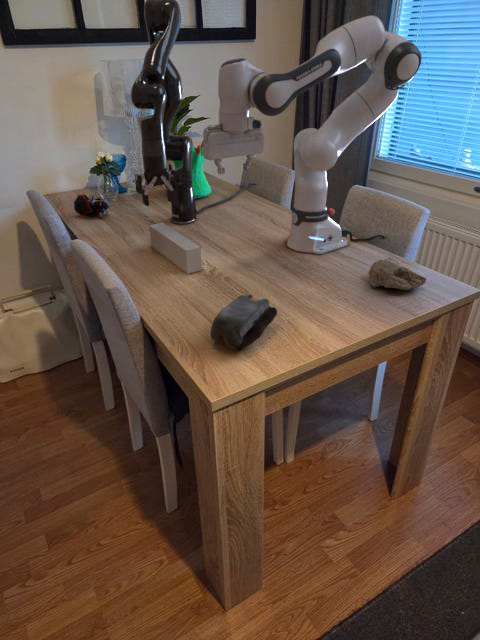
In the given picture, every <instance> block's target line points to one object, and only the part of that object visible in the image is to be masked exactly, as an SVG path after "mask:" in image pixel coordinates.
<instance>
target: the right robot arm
mask: <svg viewBox="0 0 480 640" xmlns="http://www.w3.org/2000/svg"><path fill="white" fill-rule="evenodd" d="M315 48H316V50H315V53H314V55H313V56H312V57H310V59H308V60H306V61H305V62H303V63H301V64H299V65H297V66H295V67H294V68H292V69H291V70H288V71H287V72H284V73H271V72H267V71H265V70H262V69H260V68H258V67H257V66H255V65H253V64H252V63H251V62H249V61H248V59H247V58H242V57H241V58H234V59H230V60H227V61H224V62H223V63H222V64H221V65H220V67H219V71H218V80H217V82H218V83H217V84H218V85H217V89H218V90H217V94H218V95H217V96H218V99H219V107H218V124H214V125H211V124H210V125H207V127H206V128H204V130H203V132H202V137H203V139H202V140H204V142H203V156H204V158H205V160H207V161H213V163H214V165H215V166H216V168H217V174H218V175H224V174H225V173H226V170H225V169H226V168H225V167H223V166H222V163H223V162H222V160H223V159H229V158H237V157H244V156H245V157H246V160H245V162H244V163H242V168H243V170H244V171H248V170H249V171H250V170H251V164H252V162H253V160H254V156H255V155H258V154H263V152H264V149H265V133H264V131H263V128H264V121H263V120H261V119H258V118H254V117H253V116H250V109H252V108H255V109H256V110H258V111H259V112H260V113H261V114H263V115H265V116H268V117H276V116H278V115H281V114H282V113H283V112H285V111H286V110H287V108H288V107H289V106H290V105H291V103H292V102H293V101H294V100H295V99H296V98H298V97H299V96H300V95H301V94H303V93H305V92H307V91H309V90H310V89H312V88H314V87H315V86H317V85H318V84H321V83H322V82H324V81H325V80H328V79H330V78H333V77H336V76H339V75H342V74H344V73H346V72H349V71H350V70H352V69H354V68H356V67H358V66H359V65H361V64H363V65H364V66H365V68H367V69H369V71H371V74H370V76H369V77H368V79H367V81H366V82H364V83H363V84H362V85H361V86H360V87H359V88H357V89H356V90H355V91H353V92H352V93H351V94H350V95H349V96H348V97H347V98H345V99H344V100H343V101H342V102H340V104H338V106H336V107H335V108H334V109H333V110H332V111H331V114H330V115H329V116H328V118H327V119H326V120H325V121H324V123H323V124H322V125H321V126H320V127H319V128H318V129H317V128H315V127H308V128H304V129H302V130H301V131H299V132H298V133H297V134H296V136H295V137H294V140H293V165H294V170H293V171H294V195H293V206H292V209H291V226H290V231H289V235H288V239H287V241H286V246H287V247H288V248H289V249H291V250H293V251H296V252H301V253H310V254H315V255H322V254H326V253H329V252H331V251H334V250H337V249H341V248H344V247H347V246H348V241H347V239H346V238H347V237H348V235H349V240H350V241H351V242H360V241H361V242H362V241H363V242H364V241H366V242H367V241H371V240H374V239H376V238H378V237H380V238H382V239H386V237H385V236H384V235H383V234H382V233H377V234H376V235H372V236H370V237H363V238H361V237H359V238H353V233H352V232H351V231H350V230H348V229H347V228H346V227H345V226H344V225H339V224H338V223H337V222H335V221H334V220H333V219H332V218H330V216H333V215H335V213H336V210H335V209H333V208H332V207H327V205H326V204H327V196H328V187H329V185H328V179H327V172H328V171H329V170H331V169H332V168H333V167H334V166H335V165H336V162H337V161H338V159H339V157H340V156H341V155H342V153H343V152H344V150H346V148H347V147H349V145H350V144H351V143H352V142H353V141H354V140H355V139H356V138H357V137H358V136H359V135H361V133H363V132H364V131H365V130H366V129H367V128H369V126H371V125H372V124H373V123H374V122H376V121H377V120H378V119H379V118H381V116H382V115H384V114H385V112H386V111H387V110H388V109H389V108H390V107H391V106H392V105H393V104H394V102H395V101H396V100H397V98H398V96H399V90H400V89H402V88H404V87H405V86H406V85H407V84H408V83H409V82H411V80H412V79H413V78H414V77H415V76H416V74H417V73H418V71H419V69H420V67H421V64H422V60H423V59H422V53H421V51H420V49H419V48H418V47H417V45H415V43H413V42H411V41H409V40H408V39H407V38H405V37H404V36H402V35H400V34H396V33H394V32H390V31H389V30H388V29H385V25H384V23H383V22H382V20H381V19H380V18H379V17H378V16H376V15H367V16H363V17H360V18H356V19H354V20H352V21H349V22H347V23H345V24H343V25H341V26H338V27H337V28H335V29H333V30H332V31H330V32H329V33H327V34H326V35H325V36H324V37H323V38H321V39H320V40H319V41H318V43H317V45H316V47H315ZM329 215H330V216H329Z"/></svg>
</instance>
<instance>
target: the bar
mask: <svg viewBox="0 0 480 640" xmlns="http://www.w3.org/2000/svg"><path fill="white" fill-rule="evenodd" d="M148 227H149V236H150V237H149V238H150V245H151V247H152V248H153V249H154V250H156V251H157V252H158V253H159V254H161V255H162V257H165V258H166V259H167V260H168V261H170V262H171V263H172V264H174V265H175V266H177V268H179V269H180V270H181V271H183V272H184V273H186V274H187V275H189V274H192V273H196V272H199V271H203V269H202V251H201V250H202V248H201V246H200V245H198V244H197V243H195V242H193V241H192V240H190V239H189V238H187V237H185V236H184V235H183V234H181V233H179V232H178V231H176V230H174V229H173V228H172V227H170V226H169V225H167V224H165V223H163V222H159V223H154V224H150V225H148Z"/></svg>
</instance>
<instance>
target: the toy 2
mask: <svg viewBox="0 0 480 640" xmlns="http://www.w3.org/2000/svg"><path fill="white" fill-rule="evenodd" d="M190 139H191V143H192V181H193V196H194V197H195V200H196V199H202V198H205V197H207V196H209V195H210V194H212V188H211V186H210V184H209V182H208V180H207V177H206V175H205V172H204V169H203V166H204V163H205V160H206V159H205V158H204V156H203V142H204V139H202V142H201V143H200V144H198V145H197V147H196V149H195V146H194V142H193V141H194V140H193V138H192V137H190ZM172 163H173V165H174V169H176V168H179V167H181V166H182V161H172Z"/></svg>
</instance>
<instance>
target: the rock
mask: <svg viewBox="0 0 480 640" xmlns="http://www.w3.org/2000/svg"><path fill="white" fill-rule="evenodd" d="M277 315H278V309H277V308H276V307H274V306H271V305H270V300H269V299H268V298H261V299H258V300H253V295H252V294H248V295H247V294H246V295H245V294H241V295H239V296H238V297H237V298H235V299H234V300H232V301H231V302H229V304H227V305H226V306H225V307H223V308H222V309H221V310H220V311H219V312H218V314H217V315H216V316H215V318H214V319H213V322H212V325H211V327H210V328H211V329H210V338H211V339H212V340H213V341H214V342H216V343H221V342H224V344H225V345H226V346H227V347H228V348H230V349H231V350H235V351H236V352H241V351H242V350H243V349H245V348H246V347H248V346H249V345H251V344H253V343H255V341H257V340H258V339H259V338H260V337H261V336H262V335H263V333H264V331H265V329H266V328H267V327H268V326H269V325H270V324H272V322H273V321H274V319H275V318H276V317H277Z"/></svg>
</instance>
